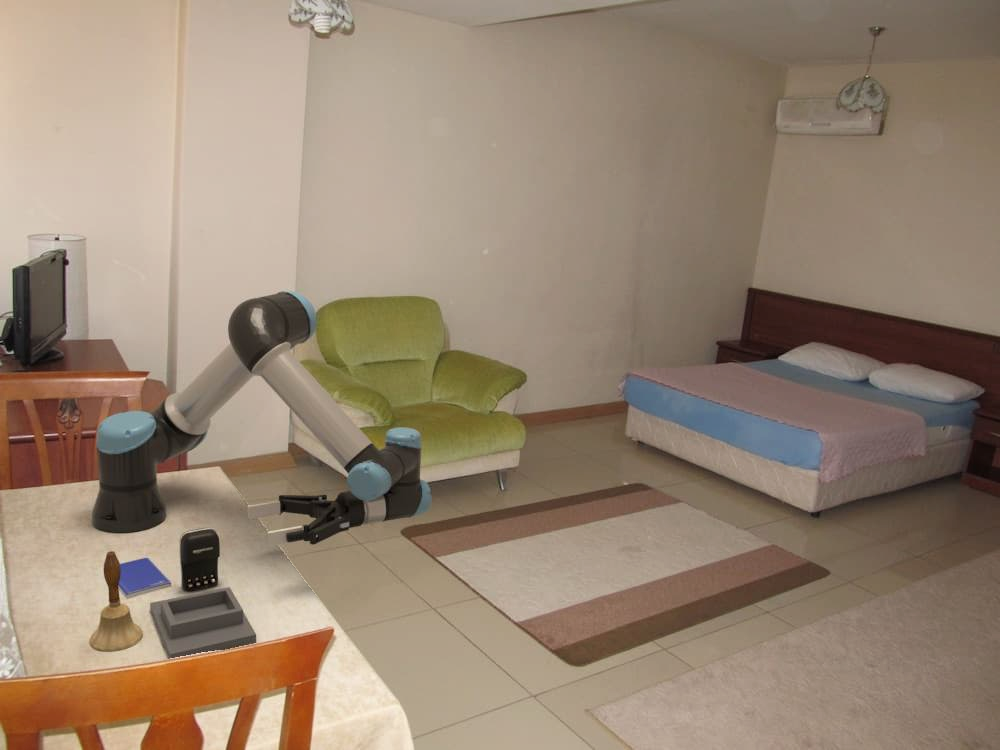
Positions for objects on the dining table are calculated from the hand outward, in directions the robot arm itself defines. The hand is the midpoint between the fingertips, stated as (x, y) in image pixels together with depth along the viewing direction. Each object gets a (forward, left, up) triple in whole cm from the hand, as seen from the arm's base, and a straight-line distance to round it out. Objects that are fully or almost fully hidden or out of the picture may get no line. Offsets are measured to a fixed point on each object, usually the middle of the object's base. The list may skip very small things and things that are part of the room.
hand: (257, 525), depth 165 cm
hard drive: (-8, -21, -12) cm, 25 cm away
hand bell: (+11, -27, -11) cm, 32 cm away
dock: (+14, -14, -11) cm, 22 cm away
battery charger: (0, -11, -11) cm, 15 cm away
